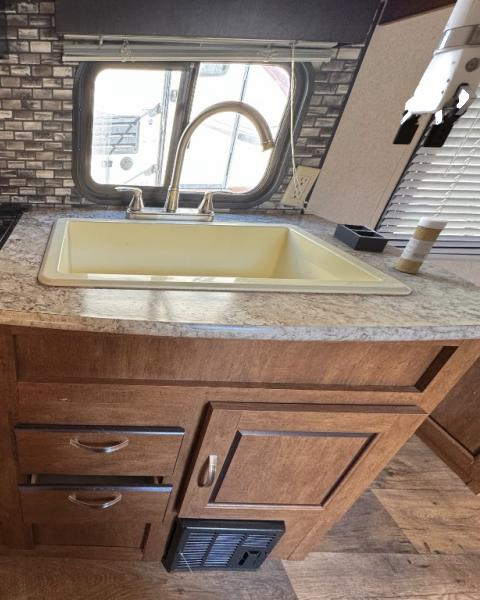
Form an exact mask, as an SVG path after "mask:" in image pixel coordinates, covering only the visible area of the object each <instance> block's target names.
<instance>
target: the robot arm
mask: <svg viewBox="0 0 480 600" xmlns="http://www.w3.org/2000/svg"><path fill="white" fill-rule="evenodd" d="M432 56H433V58H432V59H431V60H430V62H429V64H428V66H427V67H426V69H425V71H424V73H423V75H422V77H421V78H420V80H419V83H418V85H417V86H416V88H415V91H414V92H413V94H412V97H411V98H410V99H408V100H406V103H405V104H404V111H403V113H402V118H401V120H400V125H399V127H398V129H397V132H396V134H395V136H394V138H393V140H392V143H391V144H392V145H405V146H406V145H407V146H408V145H411V143H412V141H413V139H414V137H415V135H416V133H417V131H418V129H419V127H420V123H419V122H420V121H421V120H422V119H423V118H424V117H425V116H426V115H427V114H431V115H432V114H433V115H435V123H432V124H431V125H430V128H429V130H428V132H427V134H426V136H425V138H424V140H423V142H422V144H421V147H422V148H431V149H433V148H437V149H441V148H443V147H444V144H445V143H446V142H447V139H448V138H449V136H450V134H451V132H452V130H453V128H454V126H455V125H456V124H458V123H459V121H460V119H461V117H463V116H464V115H465V114H466V113H467V112H468V109H469V108H470V107H471V106H472V104H473V103H475V101H476V100H477V98H478V94H476V93H477V91H478V89H479V86H480V0H456V2H455V5H454V7H453V10H452V12H451V14H450V16H449V18H448V20H447V23H446V25H445V27H444V29H443V31H442V34H441V36H440V38H439V40H438V42H437V45H436V47H435V49H434V51H433V54H432Z"/></svg>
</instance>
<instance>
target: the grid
mask: <svg viewBox="0 0 480 600" xmlns="http://www.w3.org/2000/svg"><path fill="white" fill-rule="evenodd" d="M332 236H333V237H335V238H336V239H337V240H339V241H340V242H342V243H343V244H344V245H346V246H348V247H349V248H350V249H352V250H353V251H365V252H375V253H383V252H384V250H385V248H386V247H387V245H388V242H389V241H390V237H389V238H388V237H387V236H385V235H383V234H381V233H379V232H377V231H376V230H374V229H372V228H370V227H368V226H367V225H365V224H353V223H351V224H350V223H339V222H338V223H337V225H336V228H335V230H334V233H333V235H332Z"/></svg>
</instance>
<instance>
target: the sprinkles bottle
mask: <svg viewBox="0 0 480 600" xmlns="http://www.w3.org/2000/svg"><path fill="white" fill-rule="evenodd" d="M448 222H449V221H448V219H445V218H441V217H435V216H422V217H421V218H420V219H419V221H418V223H417V225H416V228H415V231H414V232H413V234H412V236H411V237H410V239H409V241H408V242H407V244H406V246H405V247H404V250H403V252H402V253H401V255H400V258H399V259H398V261H397V263H396V265H395V266H394V268H395V270H397V271H399V272H402V273H404V274H405V273H406V274H418V273H419V271H420V269H421V266H423V263H424V262H425V260H426V259H427V258H428V256H429V254H430V252H431V250H432V249H433V247H434V245H435V243H436V242H437V240H438V238H439V237H440V234H441V233H442V232H443V231H444V229H446V227H447V225H448Z"/></svg>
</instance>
